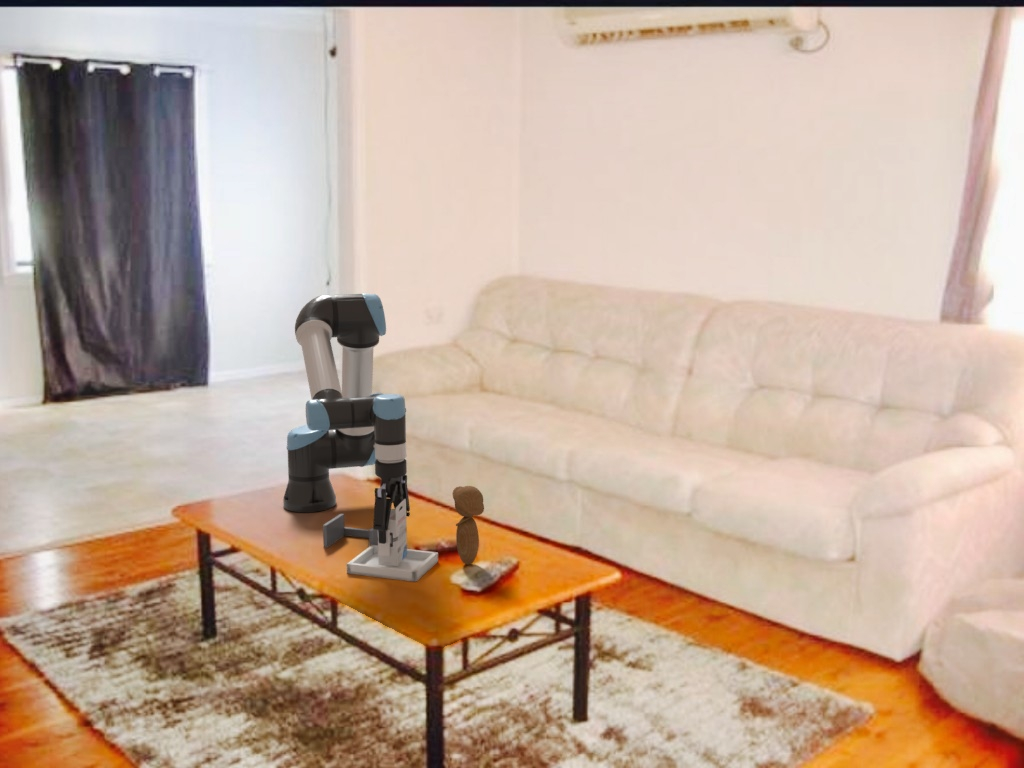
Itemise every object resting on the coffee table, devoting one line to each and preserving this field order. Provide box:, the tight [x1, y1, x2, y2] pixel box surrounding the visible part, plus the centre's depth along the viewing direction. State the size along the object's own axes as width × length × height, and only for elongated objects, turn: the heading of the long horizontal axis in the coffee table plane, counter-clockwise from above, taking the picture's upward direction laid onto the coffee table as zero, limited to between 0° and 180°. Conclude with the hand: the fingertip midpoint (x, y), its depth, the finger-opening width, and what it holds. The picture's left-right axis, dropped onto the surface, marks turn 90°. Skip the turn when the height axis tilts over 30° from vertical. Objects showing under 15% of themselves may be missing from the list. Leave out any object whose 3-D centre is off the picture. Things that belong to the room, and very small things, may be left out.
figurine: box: [452, 485, 485, 566], centre depth 253 cm, size 9×7×20 cm
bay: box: [322, 513, 378, 549], centre depth 269 cm, size 11×14×6 cm
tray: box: [346, 545, 439, 582], centre depth 253 cm, size 14×18×2 cm
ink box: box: [378, 499, 408, 566], centre depth 251 cm, size 9×5×15 cm, turn 168°
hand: (392, 548), depth 252 cm, fingers closed on ink box, 9 cm apart
